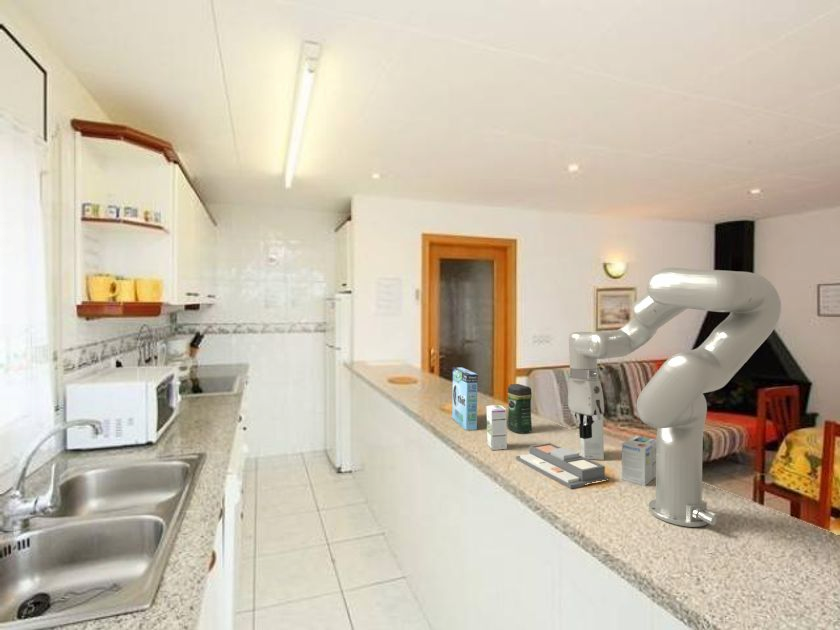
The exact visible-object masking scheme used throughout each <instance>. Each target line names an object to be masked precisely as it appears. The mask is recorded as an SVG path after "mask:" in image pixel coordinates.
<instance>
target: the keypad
mask: <svg viewBox="0 0 840 630" xmlns="http://www.w3.org/2000/svg"><path fill="white" fill-rule="evenodd" d="M547 445H551V446H553V447H555V448H562V447H561V446H558V445H556V444H554V443H552V442H548V443H547V442H546V443H541V444H535V445H530V446H529V453H527V454H520V455H518V456H517V455H516V456H515V460H516V461H518V462H520V463H522V464H524V465H526V466H527V467H529V468H530V469H532V470H535V471H537V472H539V473H540V474H542V475H543V476H546V477H548V478H550V479H552V480H553V481H555V482H557V483H559V484H561V485H562V486H564V487H567V489H570V490H572V489H577V488H581V487H585V486H584V485H585V484H587V483H592V482H596V481H602V480H607V479H609V480H610V477H609V476H607V475H606V466H605V465H603V464H600V463H599V462H596V461H594V460H592V459H587V458H584V457H583V456H582V455H580V454H579V458H576V459H570V460H565V461H563V460H561V459H559V458H557V457H555V456H552V455H550V452H549V453H546V452H544V451H542V450H539V449H537V448H535V447H540V446H547ZM579 460H585V461H587V462H590V463H592V464H594V465H597V467H592V468H587V469H580V468H578V467H576V466H574V465H572V464H570V463H568V462H573V461H579Z"/></svg>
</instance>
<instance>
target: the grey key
mask: <svg viewBox="0 0 840 630" xmlns="http://www.w3.org/2000/svg"><path fill="white" fill-rule="evenodd" d="M550 455H552V456H555V457H557V458H559V459H561V460H563V461H565V460H570V459H576V458H579V455H580V452H579V451H576V450H573V449H571V448H568V447H567V446H563V447H561V448H558V449H552V450H550Z"/></svg>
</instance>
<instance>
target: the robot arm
mask: <svg viewBox="0 0 840 630" xmlns="http://www.w3.org/2000/svg"><path fill="white" fill-rule="evenodd" d="M688 309H691V310H699V311H706V312H716V313H729V315H727V317H725V319H724V320H722V321H721V322H720V323H719V324H718V325H717V326H716V327H715V328H714V329H713V330H712V331H711V333H710V334H709V336H708V337H707V338H706V339H705V340H704V341H703V342H702V343H701V344H700V345H699V346H698V347H696V348H695V349H689V350H683V351H679V352H677V353H675V354H673V355H672V356H670V357H669V358H667V359H666V361H664V362H663V364H662V365H661V366H660V367H659V369H658V370H656V372H655V374H654V375H653V376H652V377H651V379H649V381H648V383H647V384H646V385H645V386H644V387H643V388H642V390H641V392H640V393H639V395H638V398H637V399H636V400H637V401H636V412H637V414H638V418H640V420H641V421H642V422H643V424H645V425H647V426H649V427H650V428H653V429H657V431H656V437H655V438H656V477H655V498H654V499H652V500H651V501H649V503H648V511H649V512H650V513H651V514H652V515H653V516H655V517H656V518H658V519H659V520H661V521H664V522H665V523H666V522H667V523H669V524H673V525H676V526H681V527H686V528H687V527H690V528H699V527H704V526H706V525H711V526H715V525H716V523H717V520H718V516H719V515H718V513H716V512H714V511H712V510H709V509H708V507H707V506H708V505H707V501H705V500H703V443H704V441H703V439H704V430H705V424H706V418H707V412H708V405H707V399H706V396H705V395H704V394H706V393H710V392H711V393H712V392H715V391H718V390H721V389H722V388H724V387H725V386H726V385H727V384H728V383H729V382H730V381H731V379H732V378H733V377H734V376H735V375H736V374H737V373H738V372H739V370H741V368H742V367H743V366H744V364H745V363H747V362H748V360H749V359H750V358H751V357H752V356H753V355H754V353H755V352H756V351H757V350H758V349H759V348H760V347H761V345H762V344H763V343H765V341H766V340H767V339H768V338H769V337H770V335H771V334H772V333H773V331H774V330H775V328H776V326H777V325H778V323H779V320H780V318H781V314H782V303H781V298H780V295H779V292H778V291H777V288H776V287H775V286H774V285H773V283H772V282H771V281H770V280H769V279H768V278H766V277H765V276H763V275H760V274H758V273H754V272H750V271H736V270H735V271H734V270H721V269H696V268H695V269H694V268H693V269H691V268H683V267H682V268H680V267H663V268H662V269H659V270H657V271H655V273H653V274H652V275H651V277H649V280H648V282H647V285H646V293H645V294H644V295H642V296H641V297H639V299H638V298H637V300H636V301H635V302H633V304H632V306H631V310H632V314H633V316H634V317H633V318H632V319H631V320H630V321H628V322H627V323H626V324H624V325H622V326H621V327H620V328H619V329H617V330H605V331H592V332H591V331H575V332H570V333H569V335H568V351H569V353H568V354H569V355H568V356H569V357H568V359H569V378H568V385H567V386H568V387H567V405H568V410H569V411H570V414H571V415H573V416H574V417H575V418H576V421H577V422H576V423H577V424H578V426H579V427H578V429H579V430H578V431H579V439H580V438H583V439H588V438H592V424H593V423H594V421H596V420H601V417H600V414H603V415H604V413H605V401H604V393H603V388H602V384H601V380H600V379H598V377H599V375H600V373H599V372H598V360H606V359H611V358H623V357H626V356H628V355H630V354H631V353H634V352H635V351H636V350H638V349H640V348H641V347H643V346H644V345H645V344H647V343H648V342H649V341H650V340H652V338H654V336H655V334H656V333H657V332H658V330H659V329H660V328H661V327H662V326H664V325H665V324H667V323H668V322H670V321H671V320H673V319H674V318H676V317H677V316H679V315H680V314H682V313H683V312H685V311H686V310H688Z"/></svg>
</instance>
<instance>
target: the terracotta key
mask: <svg viewBox="0 0 840 630" xmlns="http://www.w3.org/2000/svg"><path fill="white" fill-rule="evenodd" d="M535 448H537V449H539V450H542V451H544V452H546V453H549V452H550V450H552V449H558V448H555V447H553V446H551V445H547V446H540V447H535Z"/></svg>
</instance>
